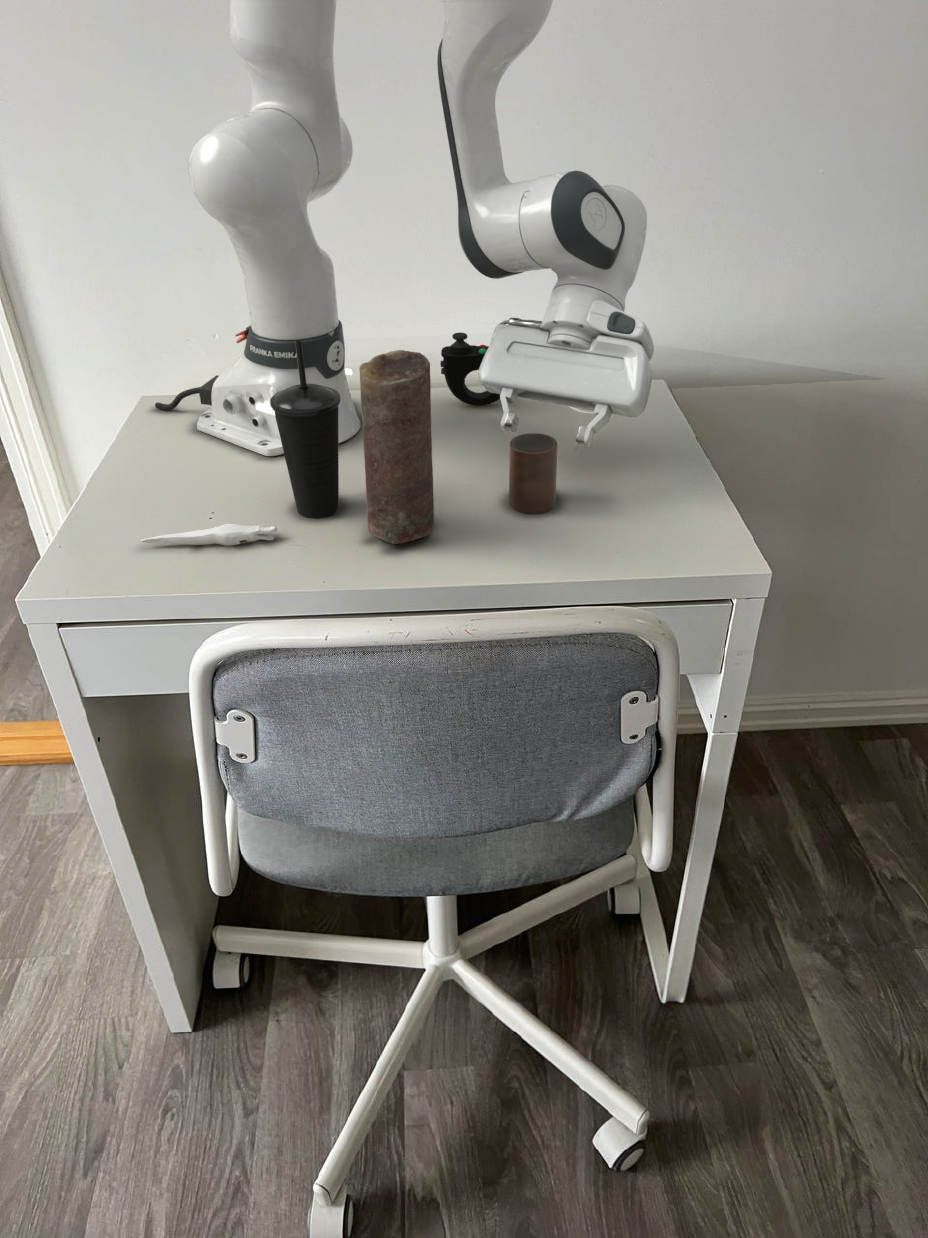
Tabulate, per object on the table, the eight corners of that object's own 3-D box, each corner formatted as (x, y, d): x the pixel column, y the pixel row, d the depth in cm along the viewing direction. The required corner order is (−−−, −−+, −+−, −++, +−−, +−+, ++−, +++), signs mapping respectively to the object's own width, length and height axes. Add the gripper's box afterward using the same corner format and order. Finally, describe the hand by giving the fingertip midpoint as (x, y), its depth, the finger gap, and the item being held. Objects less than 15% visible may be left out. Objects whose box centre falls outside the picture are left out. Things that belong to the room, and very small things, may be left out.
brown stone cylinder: (449, 536, 109) (444, 362, 97) (396, 559, 105) (384, 381, 93) (407, 511, 113) (398, 342, 102) (355, 532, 110) (339, 359, 98)
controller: (442, 398, 141) (440, 329, 135) (528, 397, 141) (529, 328, 135) (441, 410, 137) (439, 340, 132) (529, 409, 137) (530, 338, 131)
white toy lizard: (279, 532, 110) (277, 518, 109) (277, 544, 108) (275, 530, 107) (143, 541, 109) (140, 527, 108) (139, 554, 107) (135, 539, 106)
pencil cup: (501, 508, 114) (501, 447, 109) (520, 488, 118) (521, 429, 113) (544, 517, 112) (546, 456, 107) (562, 497, 116) (564, 437, 111)
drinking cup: (339, 527, 111) (321, 355, 99) (275, 521, 112) (250, 351, 101) (359, 495, 117) (343, 330, 105) (298, 490, 118) (276, 327, 107)
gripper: (491, 302, 115) (455, 410, 114) (659, 324, 107) (622, 441, 106) (507, 328, 121) (473, 431, 120) (667, 351, 113) (633, 462, 112)
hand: (544, 436), depth 113 cm, fingers open, 8 cm apart
